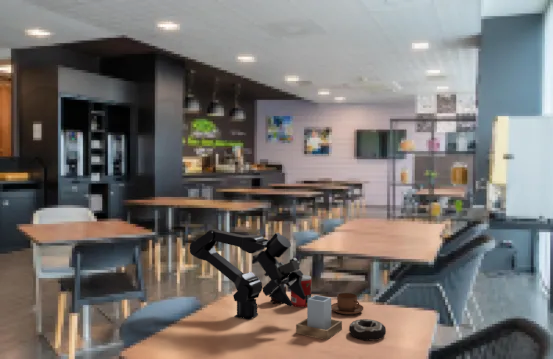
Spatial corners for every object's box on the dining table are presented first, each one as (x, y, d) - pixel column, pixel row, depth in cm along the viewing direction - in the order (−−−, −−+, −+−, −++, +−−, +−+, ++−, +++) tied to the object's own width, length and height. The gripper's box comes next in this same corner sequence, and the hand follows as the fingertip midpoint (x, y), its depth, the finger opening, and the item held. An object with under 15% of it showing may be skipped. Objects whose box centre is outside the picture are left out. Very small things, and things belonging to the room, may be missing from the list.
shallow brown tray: (296, 333, 160) (296, 324, 160) (312, 323, 170) (312, 315, 170) (327, 340, 154) (327, 331, 154) (341, 329, 164) (342, 321, 164)
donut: (383, 344, 152) (383, 331, 152) (345, 339, 156) (345, 326, 156) (387, 331, 163) (388, 319, 163) (352, 327, 167) (352, 315, 167)
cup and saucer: (368, 310, 186) (368, 294, 185) (355, 319, 175) (355, 302, 175) (339, 305, 192) (339, 289, 192) (325, 313, 182) (325, 296, 182)
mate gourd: (280, 306, 190) (280, 267, 190) (263, 302, 194) (263, 264, 194) (290, 301, 196) (290, 264, 196) (273, 298, 201) (273, 261, 200)
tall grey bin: (307, 330, 161) (307, 299, 161) (314, 325, 166) (315, 295, 166) (323, 334, 158) (324, 301, 158) (331, 329, 163) (331, 297, 162)
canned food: (309, 308, 187) (310, 279, 187) (289, 306, 189) (289, 278, 189) (312, 302, 195) (312, 274, 194) (292, 301, 197) (292, 273, 196)
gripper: (270, 255, 160) (300, 294, 155) (298, 247, 176) (326, 282, 171) (250, 276, 164) (278, 315, 159) (279, 266, 180) (305, 301, 175)
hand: (298, 302), depth 166 cm, fingers open, 9 cm apart
